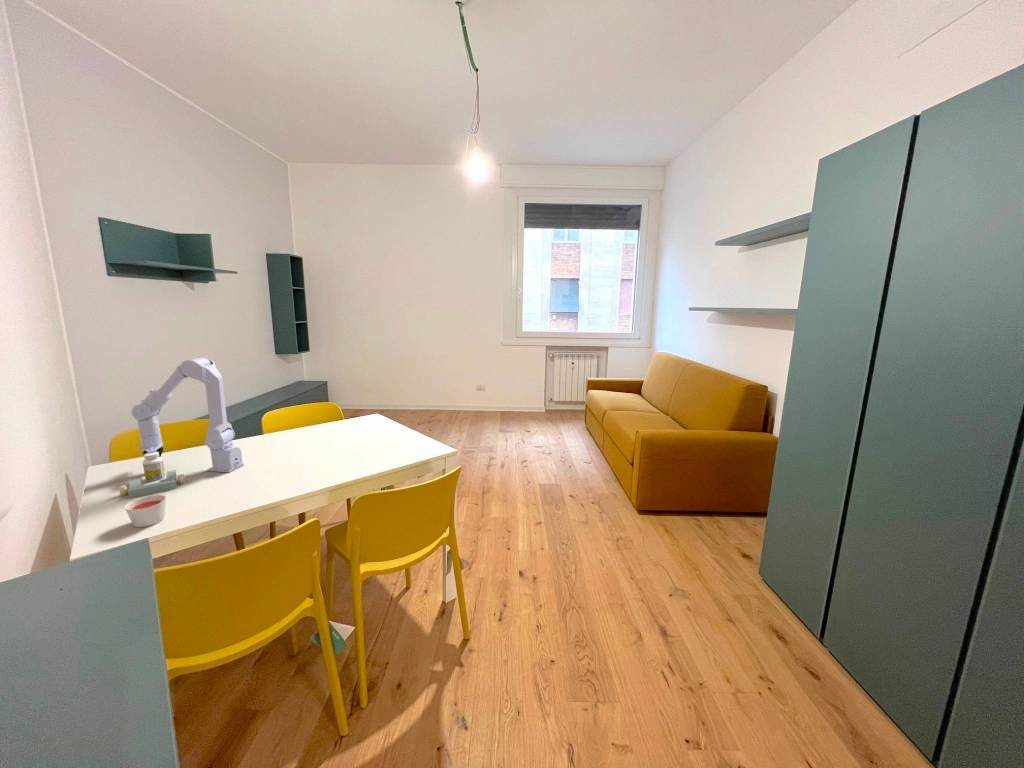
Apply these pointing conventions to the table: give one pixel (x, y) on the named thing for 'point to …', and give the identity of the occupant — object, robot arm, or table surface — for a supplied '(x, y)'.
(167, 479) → the slot block
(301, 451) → the table surface
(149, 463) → the supplement bottle
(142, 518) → the candle
